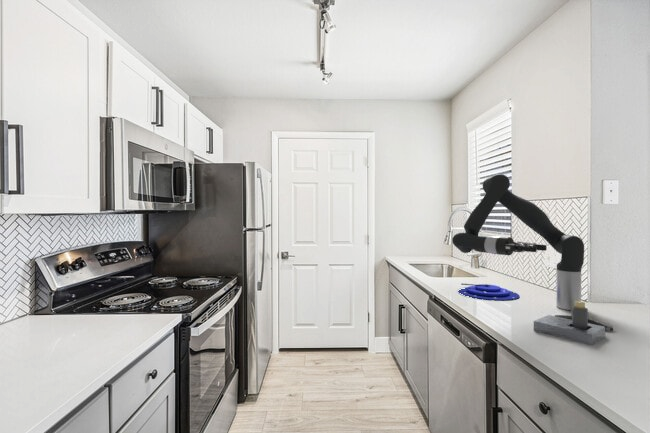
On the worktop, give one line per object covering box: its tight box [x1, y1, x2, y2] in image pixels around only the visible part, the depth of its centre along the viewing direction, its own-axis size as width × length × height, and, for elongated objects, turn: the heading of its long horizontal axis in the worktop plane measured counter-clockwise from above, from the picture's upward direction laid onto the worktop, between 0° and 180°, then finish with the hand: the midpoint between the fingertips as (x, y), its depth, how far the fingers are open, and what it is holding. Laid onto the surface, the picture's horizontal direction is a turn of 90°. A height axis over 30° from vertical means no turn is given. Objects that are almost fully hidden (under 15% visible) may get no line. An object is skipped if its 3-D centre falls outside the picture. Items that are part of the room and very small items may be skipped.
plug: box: [571, 300, 589, 330], centre depth 124 cm, size 4×4×12 cm
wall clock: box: [457, 283, 521, 302], centre depth 189 cm, size 30×6×30 cm
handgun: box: [554, 314, 614, 332], centre depth 137 cm, size 2×16×12 cm
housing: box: [533, 314, 606, 346], centre depth 127 cm, size 13×18×4 cm
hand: (541, 248), depth 134 cm, fingers open, 8 cm apart
